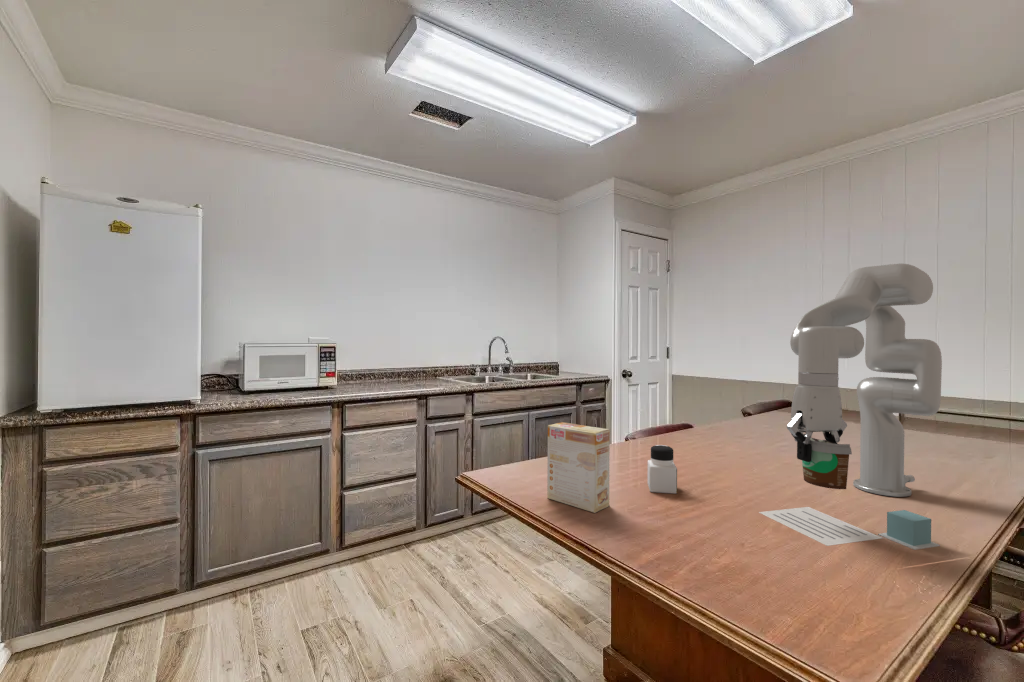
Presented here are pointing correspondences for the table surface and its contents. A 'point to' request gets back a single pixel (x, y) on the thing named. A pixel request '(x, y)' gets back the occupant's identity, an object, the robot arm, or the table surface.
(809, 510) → the letter
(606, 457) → the coffeecake box
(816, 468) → the food container
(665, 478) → the medicine bottle
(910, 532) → the teal block
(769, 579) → the table surface
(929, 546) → the mat
